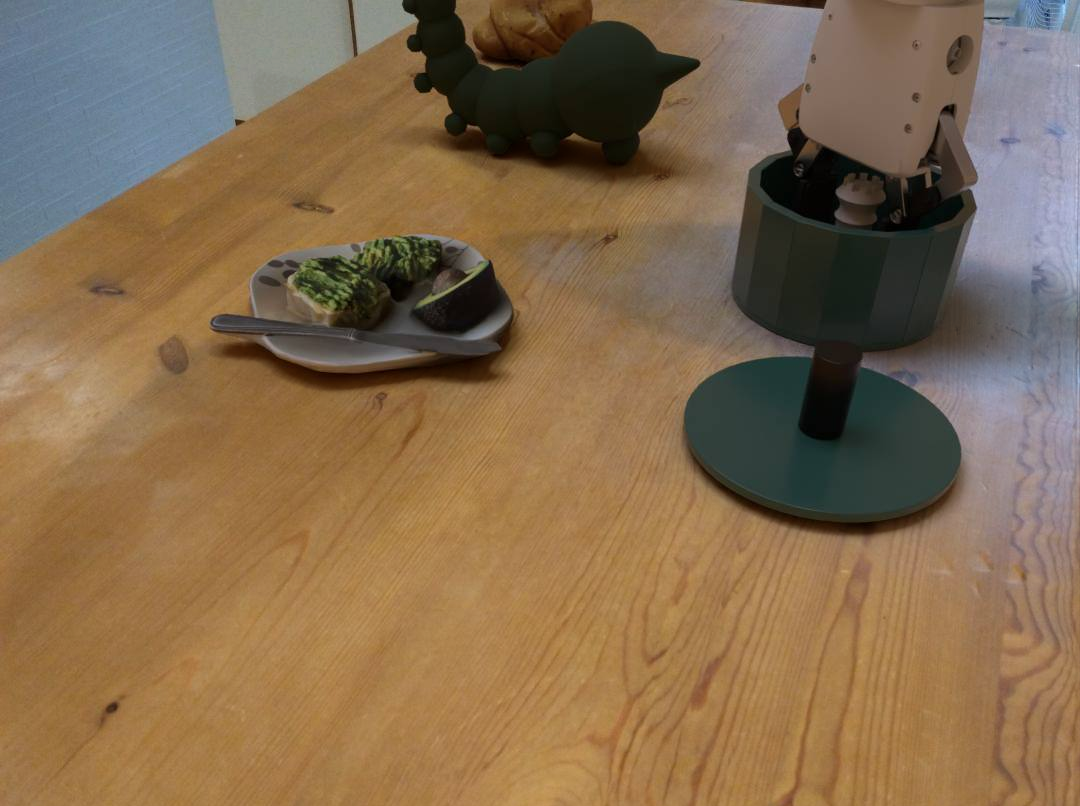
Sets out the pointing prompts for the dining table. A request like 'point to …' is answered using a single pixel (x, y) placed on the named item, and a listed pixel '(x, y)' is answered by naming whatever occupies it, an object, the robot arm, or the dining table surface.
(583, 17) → the bread roll
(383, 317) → the avocado toast plate
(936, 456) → the lid
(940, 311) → the pot
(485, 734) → the dining table surface
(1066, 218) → the dining table surface
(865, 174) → the rook chess piece
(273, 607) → the dining table surface
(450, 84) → the toy figurine
